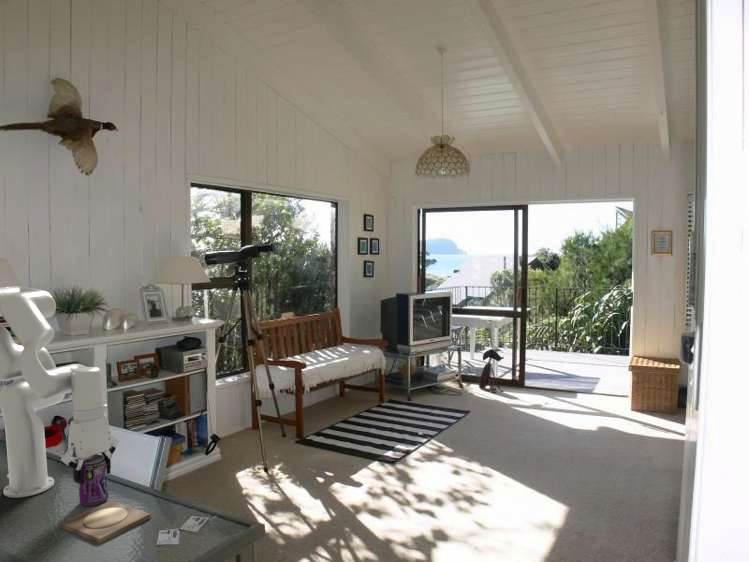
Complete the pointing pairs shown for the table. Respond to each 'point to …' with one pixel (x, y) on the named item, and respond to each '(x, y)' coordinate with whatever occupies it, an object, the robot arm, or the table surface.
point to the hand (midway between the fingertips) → (92, 477)
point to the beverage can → (94, 481)
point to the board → (105, 521)
